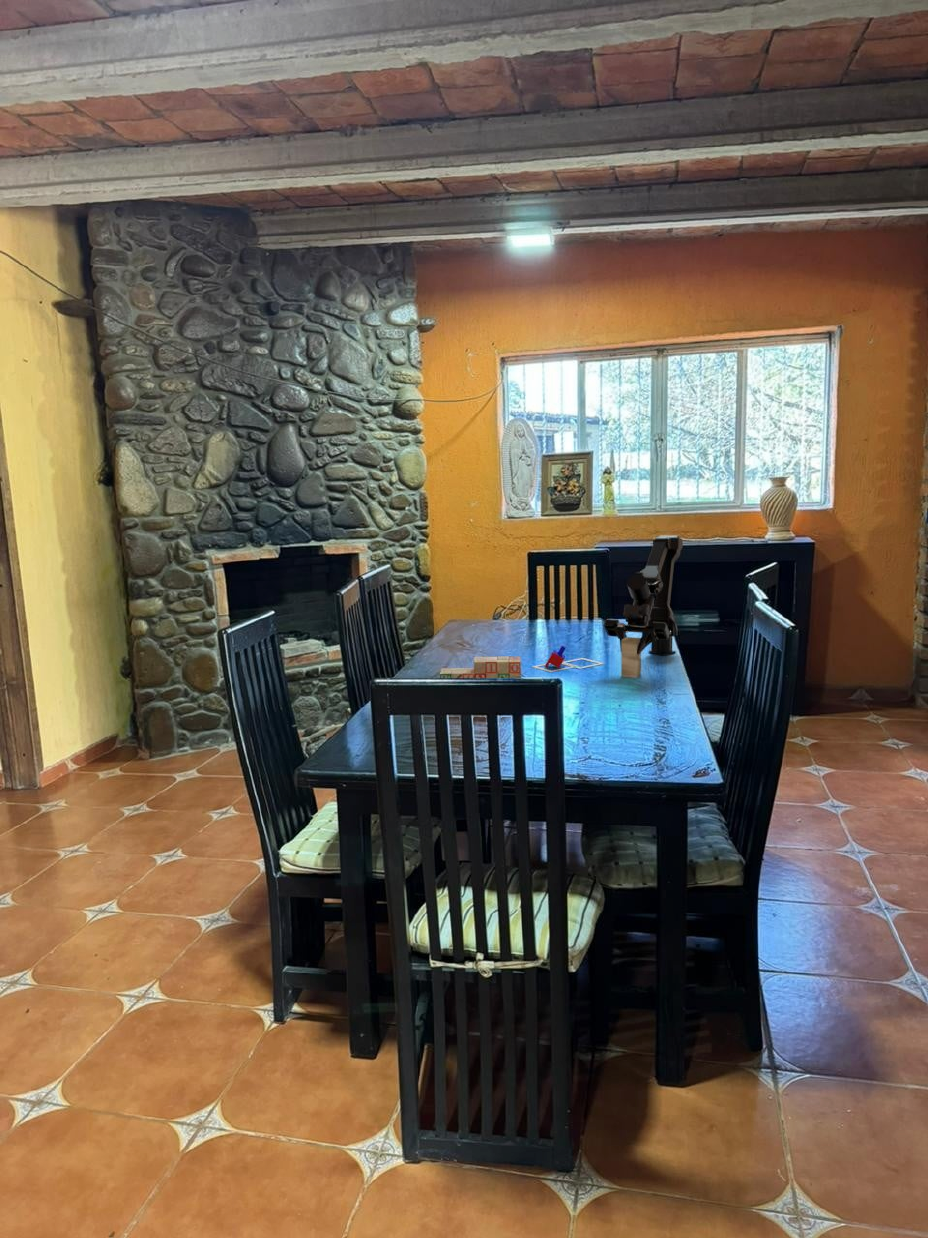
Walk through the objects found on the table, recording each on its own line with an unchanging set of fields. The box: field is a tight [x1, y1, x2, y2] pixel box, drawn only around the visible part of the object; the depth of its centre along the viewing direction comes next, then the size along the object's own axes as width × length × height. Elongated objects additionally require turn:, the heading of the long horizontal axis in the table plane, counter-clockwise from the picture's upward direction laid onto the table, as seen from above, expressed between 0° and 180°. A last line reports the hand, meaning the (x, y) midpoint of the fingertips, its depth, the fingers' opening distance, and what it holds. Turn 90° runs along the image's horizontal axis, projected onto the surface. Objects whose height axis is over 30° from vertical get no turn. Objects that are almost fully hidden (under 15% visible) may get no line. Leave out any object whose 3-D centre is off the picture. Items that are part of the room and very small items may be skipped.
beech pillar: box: [620, 636, 642, 679], centre depth 238 cm, size 4×4×11 cm
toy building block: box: [544, 645, 567, 669], centre depth 252 cm, size 4×4×8 cm
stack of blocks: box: [439, 655, 522, 679], centre depth 213 cm, size 21×6×12 cm, turn 86°
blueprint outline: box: [531, 657, 606, 673], centre depth 254 cm, size 20×12×1 cm, turn 123°
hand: (629, 652), depth 237 cm, fingers closed on beech pillar, 4 cm apart
